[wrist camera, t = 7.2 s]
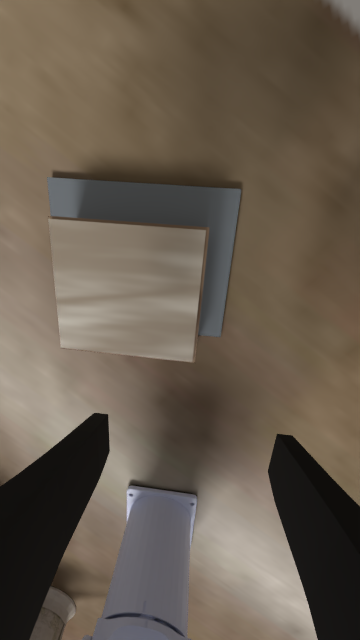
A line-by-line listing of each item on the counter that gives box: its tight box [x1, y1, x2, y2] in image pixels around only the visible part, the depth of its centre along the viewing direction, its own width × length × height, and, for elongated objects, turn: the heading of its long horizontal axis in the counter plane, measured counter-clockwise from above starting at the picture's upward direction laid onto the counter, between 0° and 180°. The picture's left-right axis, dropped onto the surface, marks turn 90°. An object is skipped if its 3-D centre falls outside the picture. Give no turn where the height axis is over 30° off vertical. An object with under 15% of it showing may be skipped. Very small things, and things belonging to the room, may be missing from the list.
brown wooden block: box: [48, 216, 210, 363], centre depth 16 cm, size 4×10×9 cm
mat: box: [47, 177, 241, 337], centre depth 17 cm, size 11×14×1 cm
